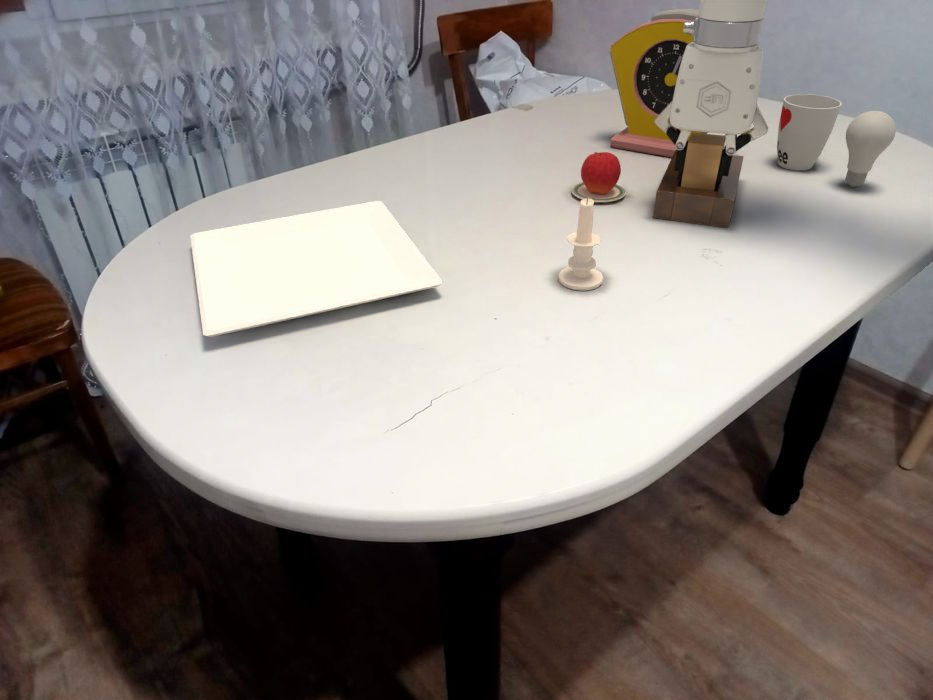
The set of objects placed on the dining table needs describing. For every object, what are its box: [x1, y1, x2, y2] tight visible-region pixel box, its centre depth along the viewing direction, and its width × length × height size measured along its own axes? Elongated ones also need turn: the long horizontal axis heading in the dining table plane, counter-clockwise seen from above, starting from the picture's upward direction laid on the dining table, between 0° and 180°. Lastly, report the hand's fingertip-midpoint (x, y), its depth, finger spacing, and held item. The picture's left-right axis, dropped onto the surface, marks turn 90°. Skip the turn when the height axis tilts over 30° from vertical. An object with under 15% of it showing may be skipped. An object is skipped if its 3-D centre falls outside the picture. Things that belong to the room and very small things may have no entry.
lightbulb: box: [844, 110, 897, 188], centre depth 95 cm, size 6×6×11 cm
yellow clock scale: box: [609, 7, 709, 159], centre depth 108 cm, size 22×9×22 cm, turn 56°
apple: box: [571, 151, 627, 203], centre depth 97 cm, size 8×8×6 cm
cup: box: [776, 93, 843, 171], centre depth 103 cm, size 8×8×10 cm
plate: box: [189, 200, 444, 338], centre depth 81 cm, size 26×26×2 cm
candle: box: [558, 197, 604, 292], centre depth 75 cm, size 5×5×10 cm
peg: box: [681, 133, 726, 191], centre depth 90 cm, size 4×4×8 cm
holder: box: [652, 149, 745, 229], centre depth 95 cm, size 10×18×4 cm, turn 157°
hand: (700, 176), depth 91 cm, fingers closed on peg, 4 cm apart
